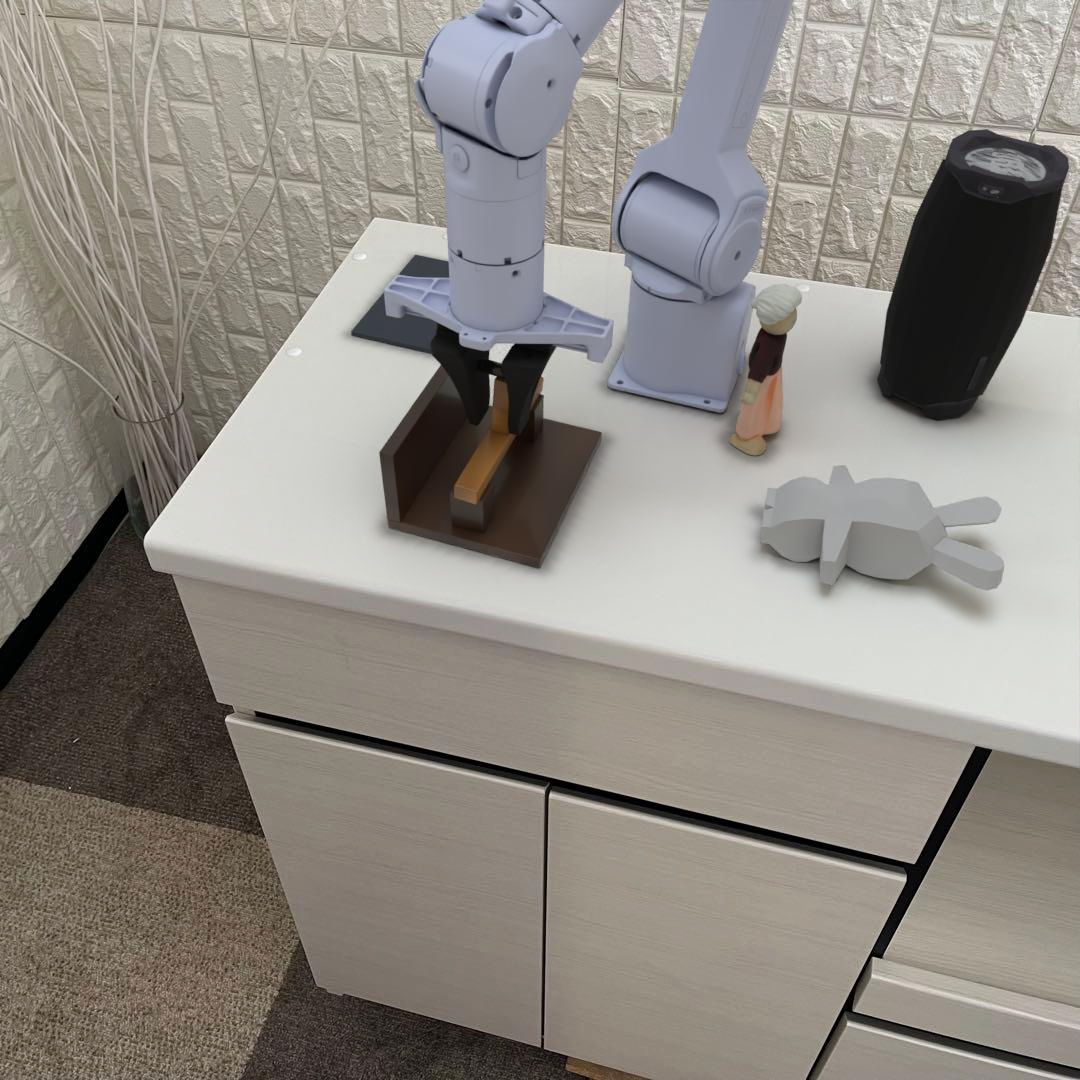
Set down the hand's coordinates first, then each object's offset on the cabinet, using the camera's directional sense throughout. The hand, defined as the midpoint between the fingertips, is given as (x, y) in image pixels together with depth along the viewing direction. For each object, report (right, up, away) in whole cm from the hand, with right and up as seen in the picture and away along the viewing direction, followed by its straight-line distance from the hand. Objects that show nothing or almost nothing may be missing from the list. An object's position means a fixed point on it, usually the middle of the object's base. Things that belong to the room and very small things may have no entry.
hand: (498, 420), depth 72 cm
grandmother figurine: (+19, 0, +9) cm, 21 cm away
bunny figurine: (+25, -9, 0) cm, 27 cm away
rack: (0, -4, +4) cm, 6 cm away
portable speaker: (+34, +4, +13) cm, 36 cm away
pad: (-6, +12, +19) cm, 24 cm away
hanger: (0, -1, +1) cm, 2 cm away
